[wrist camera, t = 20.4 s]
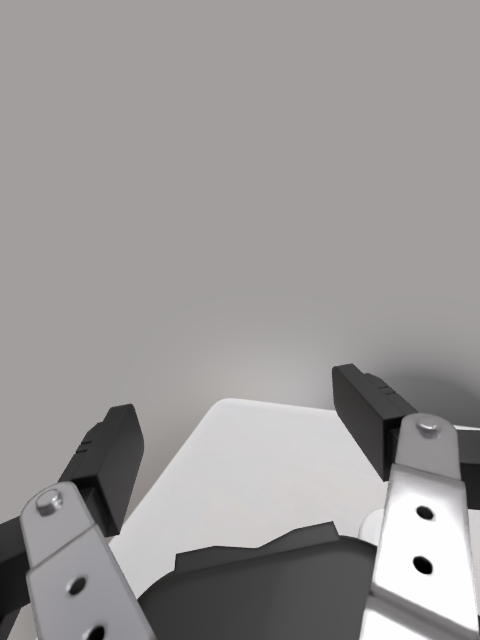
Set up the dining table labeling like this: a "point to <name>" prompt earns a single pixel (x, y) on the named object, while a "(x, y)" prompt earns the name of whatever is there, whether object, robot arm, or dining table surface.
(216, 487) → the dining table surface
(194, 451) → the dining table surface
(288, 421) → the dining table surface
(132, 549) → the dining table surface
